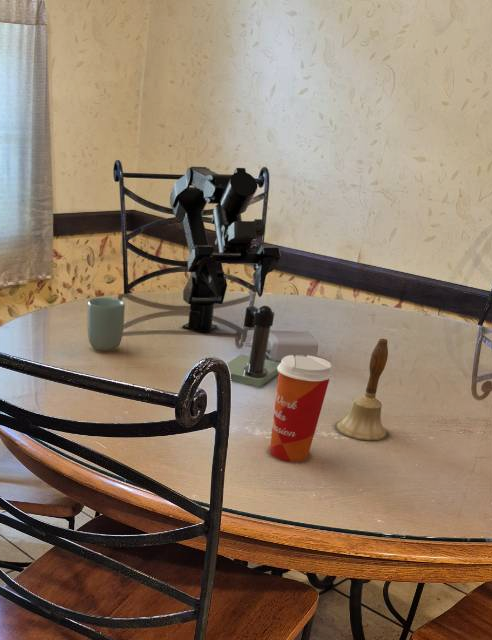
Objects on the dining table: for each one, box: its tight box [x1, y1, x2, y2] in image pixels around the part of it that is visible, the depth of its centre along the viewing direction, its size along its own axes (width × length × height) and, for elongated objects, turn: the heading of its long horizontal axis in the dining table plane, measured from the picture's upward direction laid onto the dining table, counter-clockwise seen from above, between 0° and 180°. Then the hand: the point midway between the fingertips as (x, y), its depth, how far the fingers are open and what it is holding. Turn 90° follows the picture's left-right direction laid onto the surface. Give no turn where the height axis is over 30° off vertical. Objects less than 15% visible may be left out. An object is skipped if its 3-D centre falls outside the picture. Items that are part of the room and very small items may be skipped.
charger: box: [242, 329, 320, 362], centre depth 155 cm, size 5×9×15 cm
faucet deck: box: [227, 325, 281, 388], centre depth 143 cm, size 13×10×11 cm
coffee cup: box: [269, 355, 334, 463], centre depth 110 cm, size 8×8×15 cm
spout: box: [242, 305, 275, 331], centre depth 139 cm, size 9×4×6 cm, turn 12°
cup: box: [86, 297, 126, 352], centre depth 153 cm, size 8×8×10 cm
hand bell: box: [336, 338, 389, 442], centre depth 119 cm, size 8×8×16 cm
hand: (239, 295), depth 147 cm, fingers open, 9 cm apart
